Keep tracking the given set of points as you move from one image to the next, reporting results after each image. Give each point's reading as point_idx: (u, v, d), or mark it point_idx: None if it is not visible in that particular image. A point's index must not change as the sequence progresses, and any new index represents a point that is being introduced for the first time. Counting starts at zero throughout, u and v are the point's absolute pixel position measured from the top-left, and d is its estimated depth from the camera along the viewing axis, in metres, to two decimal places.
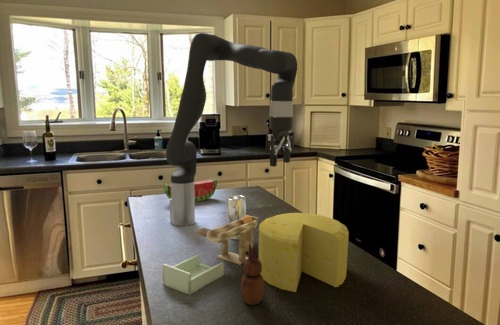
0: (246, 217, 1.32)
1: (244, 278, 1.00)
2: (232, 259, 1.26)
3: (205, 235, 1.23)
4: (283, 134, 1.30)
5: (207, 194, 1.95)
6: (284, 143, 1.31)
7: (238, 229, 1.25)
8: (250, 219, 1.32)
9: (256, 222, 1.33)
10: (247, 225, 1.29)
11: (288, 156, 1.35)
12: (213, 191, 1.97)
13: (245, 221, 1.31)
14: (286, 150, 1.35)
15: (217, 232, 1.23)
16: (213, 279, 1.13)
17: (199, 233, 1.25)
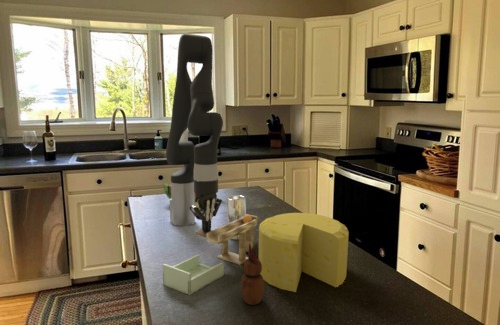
0: (246, 216, 1.32)
1: (244, 278, 1.00)
2: (232, 259, 1.26)
3: (205, 236, 1.23)
4: (208, 197, 1.23)
5: None
6: None
7: (238, 229, 1.25)
8: (250, 218, 1.32)
9: (256, 221, 1.33)
10: (247, 225, 1.29)
11: None
12: None
13: (245, 220, 1.31)
14: None
15: (217, 233, 1.23)
16: (213, 279, 1.13)
17: (199, 234, 1.25)
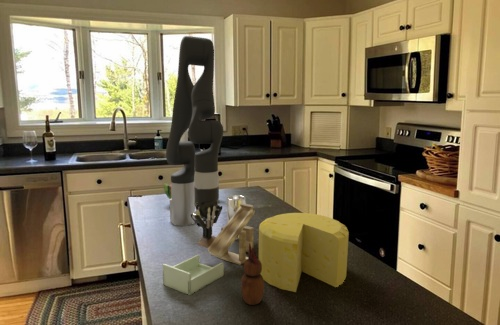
0: None
1: (244, 278, 1.00)
2: (232, 259, 1.26)
3: (207, 247, 1.25)
4: (209, 205, 1.24)
5: None
6: None
7: (237, 231, 1.24)
8: None
9: (253, 210, 1.30)
10: (245, 220, 1.27)
11: None
12: None
13: None
14: None
15: (218, 241, 1.24)
16: (213, 279, 1.13)
17: (201, 245, 1.26)
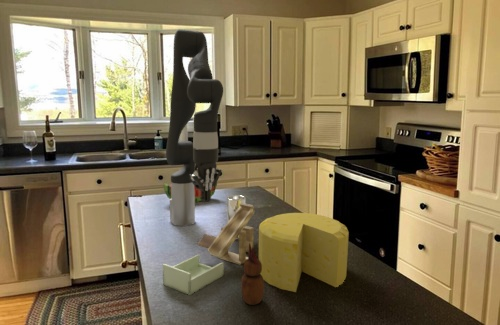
0: None
1: (244, 278, 1.00)
2: (232, 259, 1.26)
3: (208, 247, 1.25)
4: (208, 166, 1.22)
5: None
6: None
7: (237, 231, 1.24)
8: None
9: (253, 210, 1.30)
10: (244, 220, 1.27)
11: None
12: (213, 191, 1.97)
13: None
14: None
15: (218, 241, 1.24)
16: (213, 279, 1.13)
17: (201, 245, 1.26)
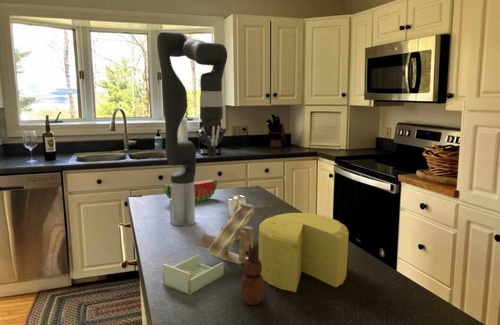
0: None
1: (244, 278, 1.00)
2: (232, 259, 1.26)
3: (208, 247, 1.25)
4: (213, 124, 1.33)
5: (207, 194, 1.95)
6: None
7: (237, 231, 1.24)
8: None
9: (253, 210, 1.30)
10: (244, 220, 1.27)
11: None
12: (213, 191, 1.97)
13: None
14: None
15: (218, 241, 1.24)
16: (213, 279, 1.13)
17: (201, 245, 1.26)
